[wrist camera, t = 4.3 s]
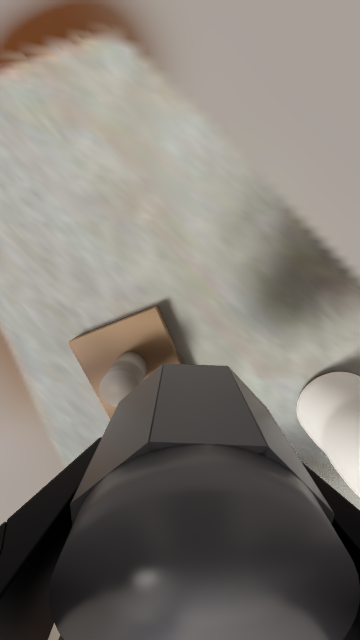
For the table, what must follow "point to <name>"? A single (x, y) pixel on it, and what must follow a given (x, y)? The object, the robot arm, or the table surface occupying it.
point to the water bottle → (334, 421)
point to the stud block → (124, 354)
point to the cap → (200, 525)
